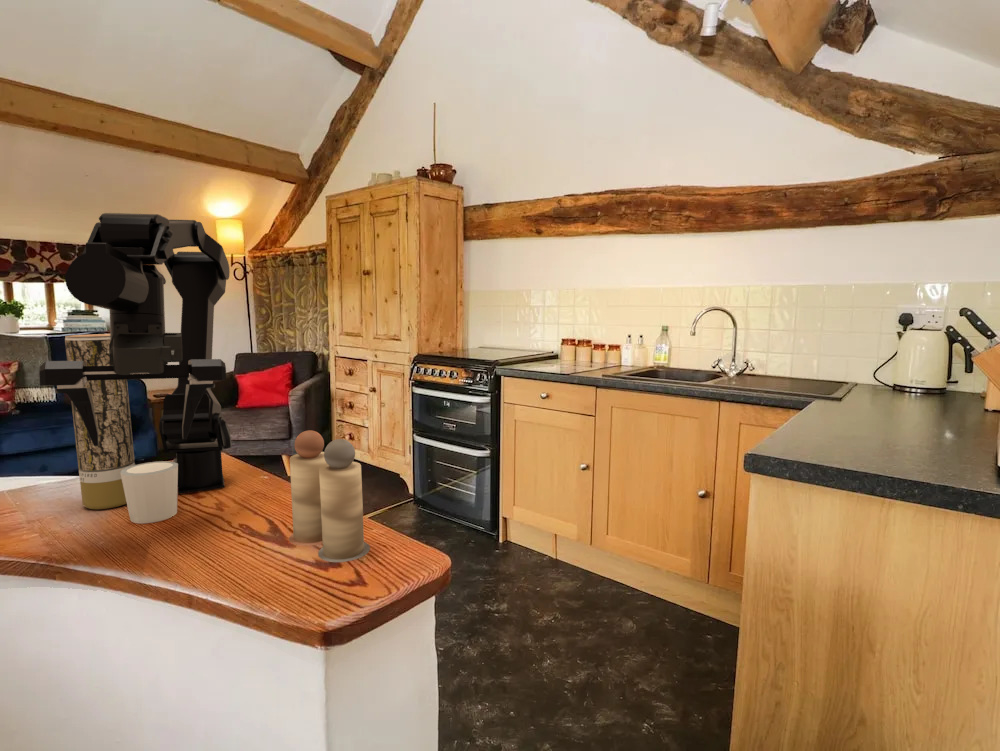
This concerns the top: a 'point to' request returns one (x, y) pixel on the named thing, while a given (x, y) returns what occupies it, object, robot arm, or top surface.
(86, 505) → the paper tube
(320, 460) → the terracotta ball tube
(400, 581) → the top surface
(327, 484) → the grey ball tube
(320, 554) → the board
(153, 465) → the white tapered cylinder
